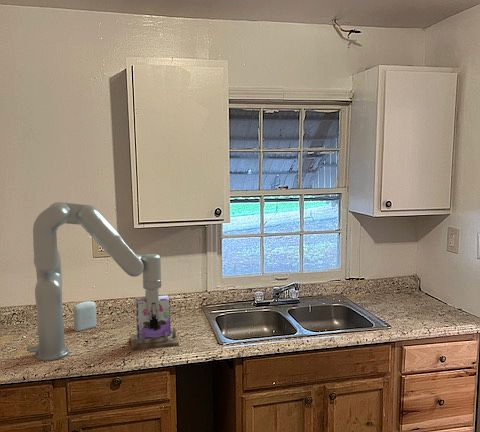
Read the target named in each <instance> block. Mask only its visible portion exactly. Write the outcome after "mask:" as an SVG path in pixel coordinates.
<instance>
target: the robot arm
mask: <svg viewBox="0 0 480 432" xmlns="http://www.w3.org/2000/svg"><path fill="white" fill-rule="evenodd" d="M64 224H67V225H80V226H81V227H82V228H83V229H84V230H85V231H86V232H87V233H88V234H89V235H90V236H91V237H92V239H94V241H96V243H97V244H98V245H99V246H100V247H101V248H102V249H103V251H104V252H106V254H107V255H109V256H110V257H111V258H112V259H113V261H114V262H115V263H116V264H117V265H118V266H119V267H120V268H121V269H122V270H123V272H125V274H127V276H130V277H134V278H137V277H139V276H140V275H142V288H143V289H144V291H145V294H144V295H145V298H146V306H147V313H148V312H150V329H157V328H158V319H157V312H158V311H159V295H160V293H159V292H160V291H159V289H161V288H162V260H161V256H160V254H157V253H147V254H138V253H135V252H134V251H133V250H132V249H131V248H130V247H129V246H128V244H127V243H126V242H125V241H124V239H123V238H122V236H121V234H120V233H119V232H118V231H117V230H116V228H114V226H113V225H112V224H111V223H110V222H109V221H107V219H106V218H105V217H104V216H103V215H102V214H101V213H100V211H99V210H98V209H97V207H95V206H93V205H91V204H90V205H89V204H83V203H82V204H81V203H71V202H64V201H63V202H60V201H57V202H53V203H52V204H50V205H49V207H47V208H46V209H44V210H43V211H41V212H40V213H39V214H38V215H37V217H36V219H35V220H34V222H33V228H32V238H33V239H32V241H33V242H32V245H33V265H34V267H35V273H36V283H35V287H34V296H35V297H34V299H35V306H36V320H37V321H36V322H37V323H36V324H37V335H38V336H37V337H38V344H36V345H27V347H26V351H27V352H29V353H32V354H33V353H35V354H34V355H35V356H34V357H35V359H36V360H39V361H46V362H47V361H54V360H59V359H62V358H64V357H67V356H68V355H69V354H70V348H69V347H68V346H66V345H65V326H64V323H65V322H64V311H63V310H64V309H63V308H64V307H63V276H62V275H63V274H62V263H61V253H60V251H59V249H58V236H57V234H58V232H57V231H58V229H59V228H60V227H61V226H63V225H64ZM151 310H152V312H151ZM152 313H153V314H152Z"/></svg>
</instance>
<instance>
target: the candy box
mask: <svg viewBox="0 0 480 432" xmlns="http://www.w3.org/2000/svg"><path fill="white" fill-rule="evenodd" d="M135 308H136V309H135V318H136V319H135V321H136V323H135V324H136V335H137V339H138V340H139V339H142V334H145V339H149V338H159V337H164V332H167V337H169V336H171V331H172V330H171V299H170V296H169V295H160V296H159V311H158V312H157V319H158V328H157V329H150V312H148V313H147V306H146V298H145V297H135ZM151 312H152V310H151ZM152 314H153V313H152Z"/></svg>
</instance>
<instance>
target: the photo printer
mask: <svg viewBox="0 0 480 432" xmlns="http://www.w3.org/2000/svg"><path fill="white" fill-rule="evenodd" d="M72 308H73V309H72V311H73V330H74V332H79V331H80V332H81V331H84V330H85V331H86V330H89V329H93V328H95V327H97V324H98V323H97V305H96V302H95V301H92V300H91V301H89V300H88V301H82V302H80V303H76V304H75V305H73V307H72Z"/></svg>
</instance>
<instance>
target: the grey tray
mask: <svg viewBox="0 0 480 432" xmlns="http://www.w3.org/2000/svg"><path fill="white" fill-rule="evenodd" d="M176 328H177V327H175V326H174V327H172V330H171V336H169V337H167V332H164V337H159V338H149V339H145V334H142V339H139V340H138V339H137V334H132V335H130V345H131V351H137V350H145V349H147V348H148V349H156V347H157V348H166V346H167V347H174V346H176V345H177V346H180V343H179V342H180V341H179V339H178V337H177V336H178V335H177V333H176V332H177V329H176ZM148 349H147V350H148Z"/></svg>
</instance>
